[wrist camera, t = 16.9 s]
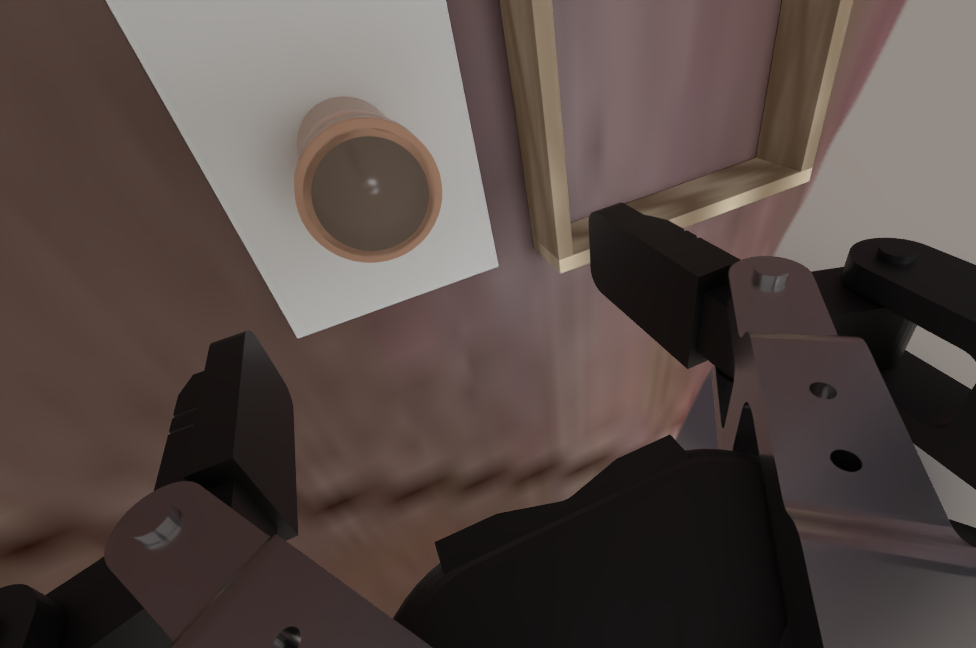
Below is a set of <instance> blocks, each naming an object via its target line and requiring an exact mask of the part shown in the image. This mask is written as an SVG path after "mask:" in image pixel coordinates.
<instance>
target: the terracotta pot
mask: <svg viewBox="0 0 976 648" xmlns="http://www.w3.org/2000/svg"><path fill="white" fill-rule="evenodd" d="M297 149H298V158H297V161H296V165H295V171H294V194H295V201H296V206H297V210H298V213H299V215H300V218H301V220H302V222H303V224H304V225H305V227H306V229H307V230H308V232H309V233H310V234H311V235H312V237H313V238H314V239H315V240H316V241H317V242H318V243H319V244H320V245H322V246H323V247H324V248H326V249H327V250H328V251H330V252H332V253H334V254H335V255H338V256H340V257H342V258H345V259H348V260H352V261H356V262H363V263H376V262H384V261H389V260H392V259H395V258H398V257H400V256H402V255H404V254H406V253H408V252H410V251H411V250H413V249H414V248H415V247H417V246H418V245H419V244H420V243H421V242H422V241H423V240H424V239H425V238H426V237H427V235H428V234H429V233H430V231H431V230H432V228H433V226H434V225H435V223H436V220H437V218H438V215H439V212H440V209H441V203H442V182H441V177H440V173H439V170H438V167H437V165H436V162H435V160H434V159H433V157H432V155H431V153H430V152H429V151H428V149H427V148H426V147H425V146H424V144H423V143H422V142H421V141H420V140H419V139H418V138H417V137H416V136H415V135H414V134H412V133H411V132H410V131H409V130H408V129H406V128H405V127H404V126H402V125H400V124H399V123H397V122H395V121H393V120H391V119H389V118H386V117H385V115H384V114H383V113H382V112H381V111H379V110H378V109H377V108H376V107H374V106H373V105H371V104H370V103H368V102H366V101H364V100H361V99H358V98H353V97H343V96H342V97H334V98H330V99H327V100H325V101H322V102H320V103H319V104H317V105H316V106H315V107H313V108H312V109H311V110H310V111H309V112H308V113H307V115H306V116H305V118H304V119H303V121H302V123H301V125H300V128H299V132H298V138H297Z"/></svg>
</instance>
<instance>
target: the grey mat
mask: <svg viewBox="0 0 976 648" xmlns="http://www.w3.org/2000/svg"><path fill="white" fill-rule="evenodd" d="M106 2H107V4H108V5H109V7H110V9H111V11H112V13H113V14H114V16H115V18H116V20H117V21H118V23H119V25H120V27H121V28H122V30H123V32H124V34H125V35H126V37H127V39H128V41H129V42H130V44H131V46H132V48H133V50H134V51H135V53H136V55H137V57H138V58H139V60H140V62H141V64H142V65H143V67H144V69H145V71H146V72H147V74H148V76H149V78H150V79H151V81H152V83H153V85H154V87H155V88H156V90H157V92H158V94H159V95H160V97H161V99H162V101H163V102H164V104H165V106H166V108H167V109H168V111H169V113H170V115H171V116H172V118H173V120H174V122H175V124H176V125H177V127H178V129H179V131H180V132H181V134H182V136H183V138H184V139H185V141H186V143H187V145H188V146H189V148H190V150H191V152H192V153H193V155H194V157H195V159H196V160H197V162H198V164H199V166H200V168H201V169H202V171H203V173H204V175H205V176H206V178H207V180H208V182H209V183H210V185H211V187H212V189H213V190H214V192H215V194H216V196H217V197H218V199H219V201H220V203H221V205H222V206H223V208H224V210H225V212H226V213H227V215H228V217H229V219H230V220H231V222H232V224H233V226H234V227H235V229H236V231H237V233H238V234H239V236H240V238H241V240H242V242H243V243H244V245H245V247H246V249H247V250H248V252H249V254H250V256H251V257H252V259H253V261H254V263H255V264H256V266H257V268H258V270H259V271H260V273H261V275H262V277H263V279H264V280H265V282H266V284H267V286H268V287H269V289H270V291H271V293H272V294H273V296H274V298H275V300H276V301H277V303H278V305H279V307H280V308H281V310H282V312H283V314H284V315H285V317H286V319H287V321H288V323H289V324H290V326H291V328H292V330H293V331H294V333H295V335H296V337H297V338H301V337H304V336H307V335H309V334H312V333H315V332H318V331H320V330H323V329H326V328H329V327H332V326H334V325H337V324H340V323H343V322H345V321H348V320H351V319H354V318H357V317H359V316H362V315H365V314H368V313H370V312H373V311H376V310H379V309H382V308H384V307H387V306H390V305H393V304H395V303H398V302H401V301H404V300H407V299H409V298H412V297H415V296H418V295H421V294H423V293H426V292H429V291H432V290H434V289H437V288H440V287H443V286H446V285H448V284H451V283H454V282H457V281H459V280H462V279H465V278H468V277H471V276H473V275H476V274H479V273H482V272H484V271H487V270H490V269H493V268H496V267H498V261H497V255H496V250H495V245H494V240H493V235H492V230H491V225H490V220H489V215H488V210H487V205H486V200H485V195H484V190H483V185H482V180H481V175H480V170H479V165H478V160H477V155H476V150H475V145H474V140H473V135H472V129H471V124H470V119H469V114H468V109H467V104H466V99H465V94H464V89H463V84H462V79H461V74H460V69H459V64H458V59H457V54H456V49H455V44H454V39H453V34H452V29H451V24H450V19H449V14H448V9H447V3H446V0H106ZM342 96H343V97H353V98H358V99H361V100H364V101H366V102H368V103H370V104H371V105H373V106H374V107H376V108H377V109H378V110H379V111H381V112H382V113H383V114H384V115H385V117H386V118H389V119H391V120H393V121H395V122H397V123H399V124H400V125H402V126H404V127H405V128H406V129H408V130H409V131H410V132H411V133H412V134H414V135H415V136H416V137H417V138H418V139H419V140H420V141H421V142H422V143H423V144H424V146H425V147H426V148H427V149H428V151H429V152H430V153H431V155H432V157H433V159H434V160H435V162H436V165H437V167H438V170H439V173H440V177H441V182H442V203H441V209H440V212H439V215H438V218H437V220H436V223H435V225H434V226H433V228H432V230H431V231H430V233H429V234H428V235H427V237H426V238H425V239H424V240H423V241H422V242H421V243H420V244H419V245H418V246H417V247H415V248H414V249H413V250H411V251H410V252H408V253H406V254H404V255H402V256H400V257H398V258H395V259H392V260H389V261H384V262H376V263H363V262H356V261H352V260H348V259H345V258H342V257H340V256H338V255H335V254H334V253H332V252H330V251H328V250H327V249H326V248H324V247H323V246H322V245H320V244H319V243H318V242H317V241H316V240H315V239H314V238H313V237H312V235H311V234H310V233H309V232H308V230H307V229H306V227H305V225H304V224H303V222H302V220H301V218H300V215H299V213H298V210H297V206H296V201H295V194H294V171H295V165H296V161H297V158H298V149H297V138H298V132H299V128H300V125H301V123H302V121H303V119H304V118H305V116H306V115H307V113H308V112H309V111H310V110H311V109H312V108H313V107H315V106H316V105H317V104H319V103H320V102H322V101H325V100H327V99H330V98H334V97H342Z"/></svg>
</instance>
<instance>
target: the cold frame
mask: <svg viewBox="0 0 976 648" xmlns="http://www.w3.org/2000/svg"><path fill="white" fill-rule="evenodd" d="M499 1H500V8H501V16H502V23H503V30H504V37H505V44H506V51H507V58H508V65H509V73H510V80H511V87H512V94H513V101H514V108H515V115H516V122H517V130H518V137H519V144H520V151H521V158H522V165H523V172H524V179H525V187H526V194H527V201H528V208H529V215H530V222H531V229H532V236H533V244H534V249H535V250H536V251H537V252H538V253H539V254H540V255H541V256H542V257H543V258H544V259H546V260H547V261H548V262H549V263H550V264H551V265H552V266H553V267H554V268H555V269H556V270H557V271H558V272H559V273H560V274H561V273H564V272H566V271H569V270H572V269H574V268H577V267H580V266H582V265H585V264H588V263H590V246H589V225H588V222H589V217H586V218H583V219H580V220H577V221H575V222H572V223H570V211H569V199H568V187H567V175H566V163H565V151H564V139H563V127H562V115H561V103H560V91H559V79H558V67H557V55H556V43H555V31H554V19H553V7H552V0H499ZM852 3H853V0H782V4H781V10H780V16H779V22H778V28H777V34H776V40H775V46H774V52H773V58H772V64H771V70H770V76H769V82H768V88H767V94H766V100H765V106H764V112H763V118H762V124H761V130H760V136H759V142H758V148H757V154H756V158H753V159H751V160H748V161H745V162H742V163H739V164H736V165H734V166H731V167H728V168H725V169H722V170H719V171H716V172H714V173H711V174H708V175H705V176H702V177H699V178H697V179H694V180H691V181H688V182H685V183H682V184H680V185H677V186H674V187H671V188H668V189H665V190H663V191H660V192H657V193H654V194H651V195H648V196H646V197H643V198H640V199H637V200H634V201H631V202H629V203H626V205H628V206H630V207H632V208H633V209H635V210H637V211H639V212H640V213H642V214H644V215H649V216H653V217H657V218H662V219H666V220H669V221H671V222H672V223H674V224H676V225H678V226H680V227H681V228H685V227H687V226H690V225H693V224H695V223H698V222H701V221H703V220H706V219H709V218H711V217H714V216H717V215H719V214H722V213H725V212H728V211H730V210H733V209H736V208H738V207H741V206H744V205H746V204H749V203H752V202H754V201H757V200H760V199H762V198H765V197H768V196H771V195H773V194H776V193H779V192H781V191H784V190H787V189H789V188H792V187H795V186H797V185H800V184H803V183H805V182H808V181H809V180H810V176H811V172H812V168H813V164H814V159H815V155H816V151H817V147H818V143H819V139H820V135H821V131H822V127H823V122H824V118H825V114H826V110H827V106H828V102H829V98H830V94H831V90H832V86H833V81H834V77H835V73H836V69H837V65H838V61H839V57H840V53H841V49H842V45H843V40H844V36H845V32H846V28H847V24H848V20H849V16H850V12H851V8H852Z"/></svg>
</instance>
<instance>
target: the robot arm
mask: <svg viewBox="0 0 976 648" xmlns="http://www.w3.org/2000/svg"><path fill="white" fill-rule="evenodd" d="M588 225H589V246H590V267H591V274H592V278H593V280H594V283H595V285H596V286H597V288H598V289H599V291H600V292H601V293H602V294H603V295H605V296H606V297H607V298H608V299H609V300H610V301H611V302H612V303H614V304H615V305H616V306H617V307H618V308H619V309H620V310H621V311H623V312H624V313H625V314H626V315H627V316H628V317H629V318H631V319H632V320H633V321H634V322H635V323H636V324H637V325H638V326H640V327H641V328H642V329H643V330H644V331H645V332H646V333H647V334H649V335H650V336H651V337H652V338H653V339H654V340H655V341H657V342H658V343H659V344H660V345H661V346H662V347H663V348H664V349H666V350H667V351H668V352H669V353H670V354H671V355H672V356H673V357H675V358H676V359H677V360H678V361H679V362H680V363H681V364H682V365H684V366H685V367H686V368H687V369H689V368H691V367H693V366H696V365H698V364H700V363H703V362H705V361H707V360H709V361H710V362H711V363H712V364H713V370H712V385H713V395H714V406H715V416H716V427H717V437H718V449H694V450H686V451H685V450H684V449H683V448H682V447H681V446H680V445H679V444H678V443H677V442H676V440H675V439H674V438H673V437H672V436H671V435H668V436H666V437H664V438H661V439H659V440H657V441H655V442H653V443H650V444H648V445H646V446H644V447H642V448H640V449H637V450H635V451H633V452H631V453H629V454H626V455H624V456H622V457H620V458H618V459H616V460H615V461H614V462H612V463H611V464H610V465H609V466H608V467H606V468H605V469H604V470H603V471H602V472H600V473H599V474H598V475H597V476H596V477H594V478H593V479H592V480H591V481H590V482H588V483H587V484H586V485H585V486H584V487H582V488H581V489H580V490H579V491H578V492H576V493H575V494H574V495H573V496H571V497H570V498H568V499H566V500H564V501H561V502H556V503H551V504H545V505H540V506H535V507H530V508H525V509H519V510H514V511H509V512H504V513H498V514H495V515H493V516H491V517H489V518H487V519H484V520H482V521H480V522H478V523H476V524H474V525H471V526H469V527H467V528H465V529H463V530H460V531H458V532H456V533H454V534H452V535H449V536H447V537H445V538H443V539H441V540H439V541H436V542H435V545H436V549H437V552H438V556H439V559H440V563H439V564H438V565H437V566H436V567H435V568H433V569H432V570H431V571H430V572H429V573H428V574H427V575H426V576H425V577H424V578H423V579H422V580H421V581H420V582H419V583H418V584H417V585H416V586H415V588H414V589H413V590H412V591H411V593H410V594H409V595H408V596H407V598H406V599H405V600H404V602H403V603H402V605H401V606H400V608H399V610H398V611H397V613H396V614H395V616H394V618H391V617H390V616H389V615H387V614H386V613H384V612H383V611H382V610H380V609H379V608H378V607H376V606H375V605H373V604H372V603H371V602H369V601H368V600H367V599H365V598H364V597H362V596H361V595H360V594H358V593H357V592H356V591H354V590H353V589H351V588H350V587H349V586H347V585H346V584H345V583H343V582H342V581H340V580H339V579H338V578H336V577H335V576H334V575H332V574H331V573H329V572H328V571H327V570H325V569H324V568H323V567H321V566H320V565H318V564H317V563H316V562H314V561H313V560H312V559H310V558H309V557H307V556H306V555H305V554H303V553H302V552H301V551H299V550H298V549H296V548H295V547H294V546H292V545H291V544H290V543H288V542H287V541H286V540H288V539H291V538H293V537H295V536H298V520H297V494H296V467H295V441H294V415H293V404H292V399H291V396H290V393H289V391H288V388H287V386H286V384H285V382H284V381H283V379H282V377H281V376H280V374H279V373H278V371H277V369H276V368H275V366H274V365H273V363H272V361H271V360H270V358H269V357H268V355H267V354H266V352H265V350H264V349H263V347H262V346H261V344H260V342H259V341H258V339H257V338H256V336H255V335H254V334H253V333H252V332H251V331H245V332H242V333H239V334H236V335H233V336H231V337H228V338H225V339H222V340H219V341H216V342H213V343H211V344H210V347H209V351H208V356H207V361H206V366H205V371H203V372H200V373H197V374H194V375H193V376H192V377H191V379H190V380H189V381H188V383H187V384H186V385H185V387H184V388H183V390H182V391H181V392H180V394H179V395H178V399H177V402H176V406H175V410H174V414H173V415H174V417H175V418H173V419H172V422H171V426H170V430H169V431H170V435H168V438H167V442H166V445H165V449H164V453H163V457H162V461H161V465H160V469H159V473H158V477H157V481H156V484H155V488H154V491H153V492H152V493H150V494H149V495H147V496H146V497H144V498H143V499H141V500H140V501H139V502H137V503H136V504H135V505H134V506H133V507H132V508H131V509H130V510H128V511H127V513H126V514H125V515H124V516H123V517H122V518H121V519H120V520H119V522H118V523H117V524H116V526H115V527H114V529H113V530H112V532H111V534H110V536H109V538H108V540H107V543H106V546H105V550H104V557H103V558H101V559H100V560H98V561H97V562H95V563H94V564H92V565H91V566H89V567H88V568H86V569H85V570H83V571H82V572H80V573H78V574H77V575H75V576H74V577H72V578H71V579H69V580H68V581H66V582H65V583H63V584H62V585H60V586H59V587H57V588H56V589H54V590H53V591H51V592H50V593H48V594H46V595H44V594H42V593H40V592H38V591H36V590H35V589H33V588H31V587H29V586H27V585H23V584H15V585H10V586H5V587H2V588H0V648H976V528H974V527H971V526H968V525H965V524H962V523H959V522H956V521H953V520H950V519H948V517H947V515H946V512H945V510H944V508H943V506H942V504H941V502H940V500H939V498H938V496H937V493H936V491H935V489H934V487H933V485H932V483H931V480H930V478H929V476H928V474H927V472H926V470H925V468H924V465H923V463H922V461H921V459H920V457H919V455H918V453H917V450H916V448H915V446H914V444H915V445H916V446H918V447H919V448H920V449H922V450H923V451H924V452H926V453H927V454H928V455H930V456H931V457H933V458H934V459H935V460H937V461H938V462H939V463H941V464H942V465H943V466H945V467H946V468H947V469H949V470H950V471H951V472H953V473H954V474H955V475H957V476H958V477H959V478H961V479H962V480H964V481H965V482H966V483H968V484H969V485H970V486H972V487H973V488H974V489H976V384H975V386H974V387H973V389H972V390H971V389H970V388H968V387H966V386H965V385H963V384H961V383H960V382H958V381H956V380H955V379H953V378H951V377H949V376H948V375H946V374H944V373H943V372H941V371H939V370H938V369H936V368H934V367H932V366H931V365H929V364H928V363H926V362H924V361H923V360H921V359H919V358H918V357H916V356H914V355H913V354H911V353H909V352H908V351H906V350H905V349H906V346H907V345H908V342H909V341H910V338H911V336H912V334H913V332H914V330H915V328H916V326H917V325H918V326H920V327H922V328H924V329H925V330H927V331H929V332H931V333H933V334H935V335H937V336H938V337H940V338H942V339H944V340H946V341H948V342H950V343H951V344H953V345H955V346H957V347H959V348H961V349H962V350H964V351H966V352H967V353H968V354H970V355H971V356H972V358H973V359H974V360H975V361H976V265H974V264H972V263H969V262H966V261H964V260H962V259H959V258H957V257H954V256H952V255H949V254H947V253H944V252H942V251H939V250H937V249H935V248H932V247H930V246H927V245H924V244H921V243H918V242H914V241H910V240H905V239H897V238H874V239H867V240H863V241H860V242H858V243H856V244H854V245H853V246H852V247H851V249H850V251H849V254H848V257H847V260H846V263H845V266H844V267H840V268H833V269H826V270H820V271H813V272H811V271H810V270H809V269H808V268H806V267H805V266H803V265H801V264H799V263H797V262H795V261H792V260H789V259H786V258H780V257H773V256H757V257H750V258H746V259H743V260H740V259H738V258H736V257H734V256H733V255H731V254H729V253H727V252H725V251H723V250H722V249H720V248H718V247H716V246H714V245H713V244H711V243H709V242H707V241H705V240H703V239H702V238H697V236H696V235H694V234H692V233H691V232H689V231H687V230H686V231H684V229H683V228H681V227H680V226H678V225H676V224H674V223H672V222H671V221H669V220H666V219H662V218H657V217H653V216H649V215H644V214H642V213H640V212H639V211H637V210H635V209H633V208H632V207H630V206H628V205H626V204H624V203H618V204H615V205H612V206H609V207H606V208H603V209H601V210H598V211H595V212H592V213H591V214H590V216H589V222H588ZM913 443H914V444H913Z"/></svg>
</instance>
